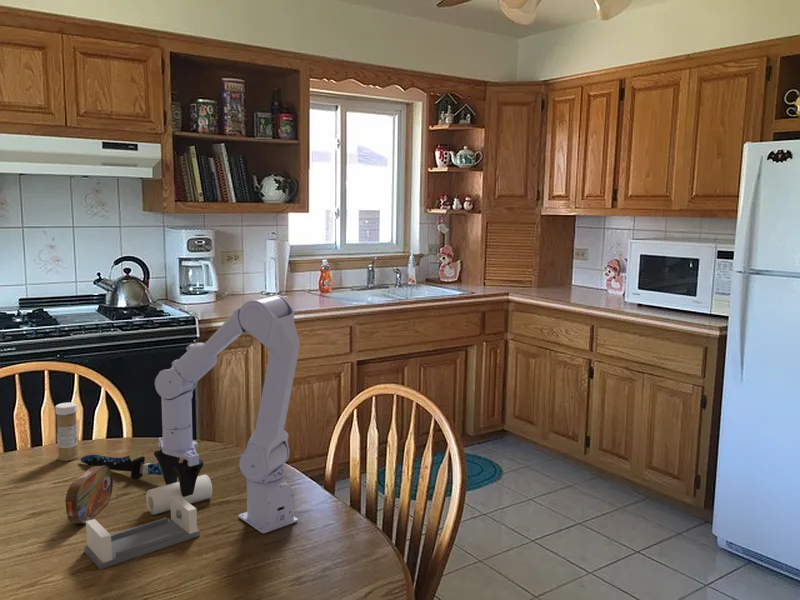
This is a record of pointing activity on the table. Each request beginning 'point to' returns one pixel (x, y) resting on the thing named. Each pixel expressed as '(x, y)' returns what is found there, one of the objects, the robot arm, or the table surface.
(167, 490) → the cylinder
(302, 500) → the table surface
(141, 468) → the knife
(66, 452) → the sprinkles bottle
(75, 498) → the tin
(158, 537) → the holder
